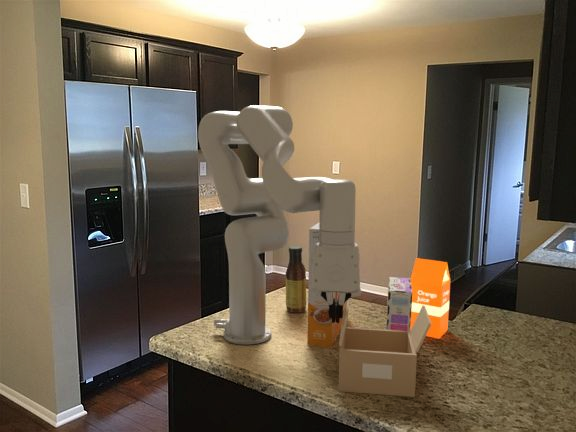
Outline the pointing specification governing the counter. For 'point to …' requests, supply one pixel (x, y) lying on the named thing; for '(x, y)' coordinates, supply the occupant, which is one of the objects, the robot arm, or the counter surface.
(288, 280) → the sauce bottle
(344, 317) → the left flap
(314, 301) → the cereal box
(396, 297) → the candy box
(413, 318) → the orange juice
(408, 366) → the carton
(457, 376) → the counter surface
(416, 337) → the right flap
